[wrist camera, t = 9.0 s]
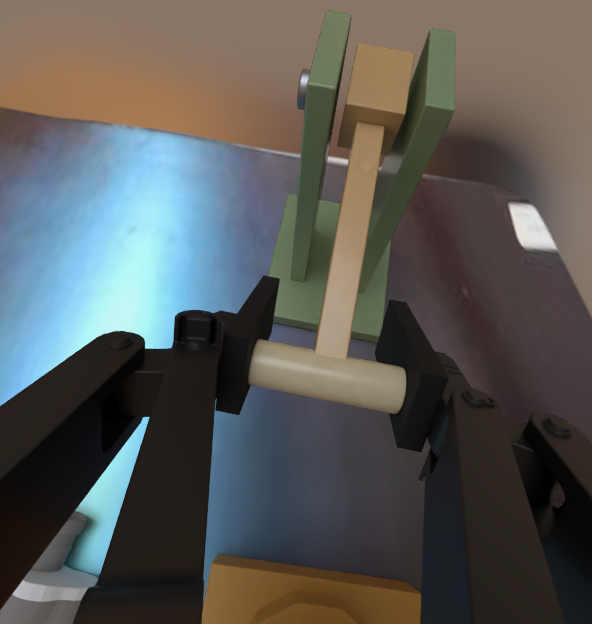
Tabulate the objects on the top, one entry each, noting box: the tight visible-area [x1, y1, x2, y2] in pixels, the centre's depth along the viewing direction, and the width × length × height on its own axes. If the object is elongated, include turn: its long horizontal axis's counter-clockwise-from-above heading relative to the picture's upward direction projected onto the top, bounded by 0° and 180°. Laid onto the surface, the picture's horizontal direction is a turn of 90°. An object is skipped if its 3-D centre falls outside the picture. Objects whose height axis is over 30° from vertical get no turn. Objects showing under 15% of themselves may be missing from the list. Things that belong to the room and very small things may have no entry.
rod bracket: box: [268, 10, 456, 343], centre depth 20 cm, size 10×8×15 cm
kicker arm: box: [248, 43, 415, 414], centre depth 14 cm, size 13×5×2 cm, turn 169°
